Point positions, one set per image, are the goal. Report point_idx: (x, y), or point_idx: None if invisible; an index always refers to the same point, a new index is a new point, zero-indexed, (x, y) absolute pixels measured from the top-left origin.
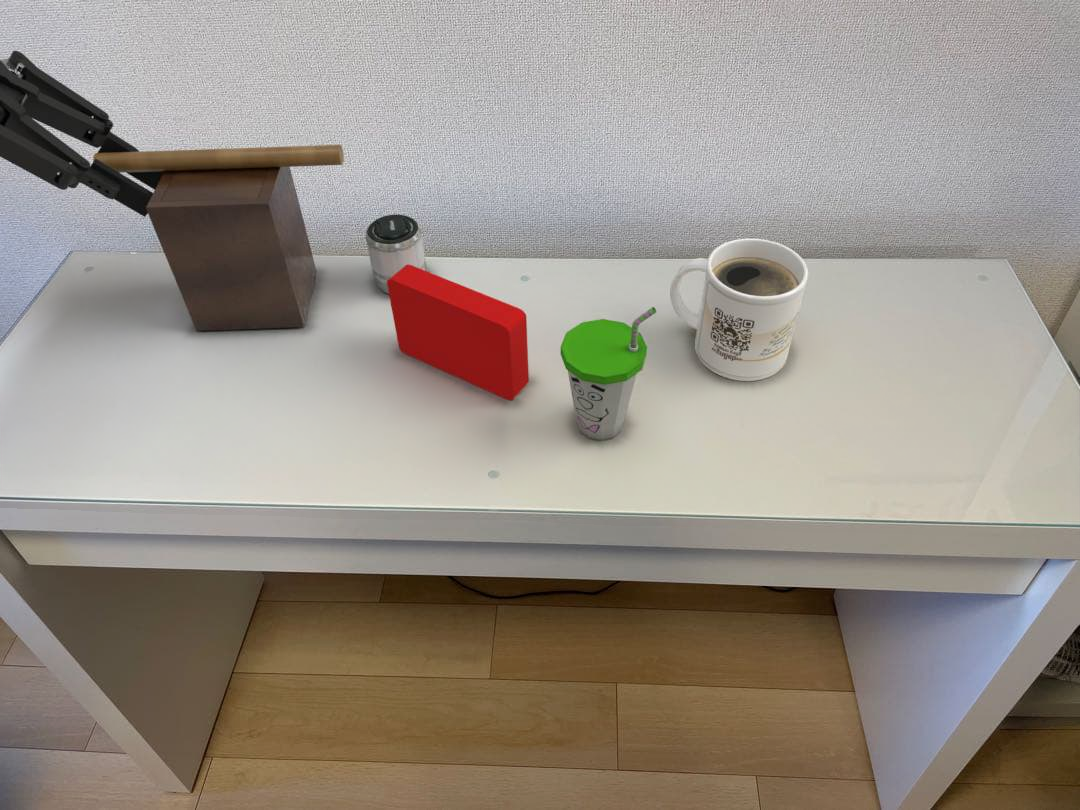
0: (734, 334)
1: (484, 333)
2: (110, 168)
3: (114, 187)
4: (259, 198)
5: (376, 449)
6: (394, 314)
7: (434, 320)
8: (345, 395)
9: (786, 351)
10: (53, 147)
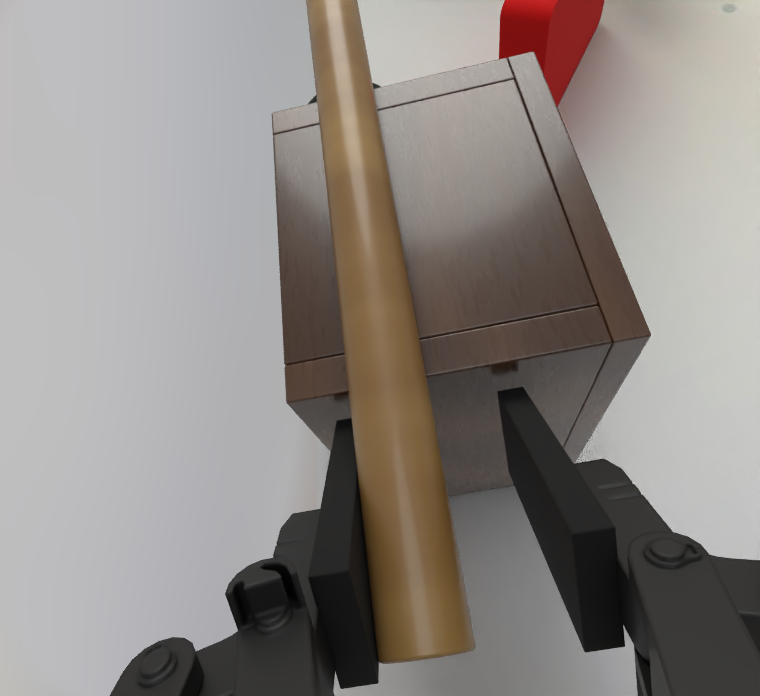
0: None
1: None
2: (553, 485)
3: (608, 470)
4: (515, 74)
5: (744, 119)
6: None
7: (575, 7)
8: (651, 185)
9: None
10: None
